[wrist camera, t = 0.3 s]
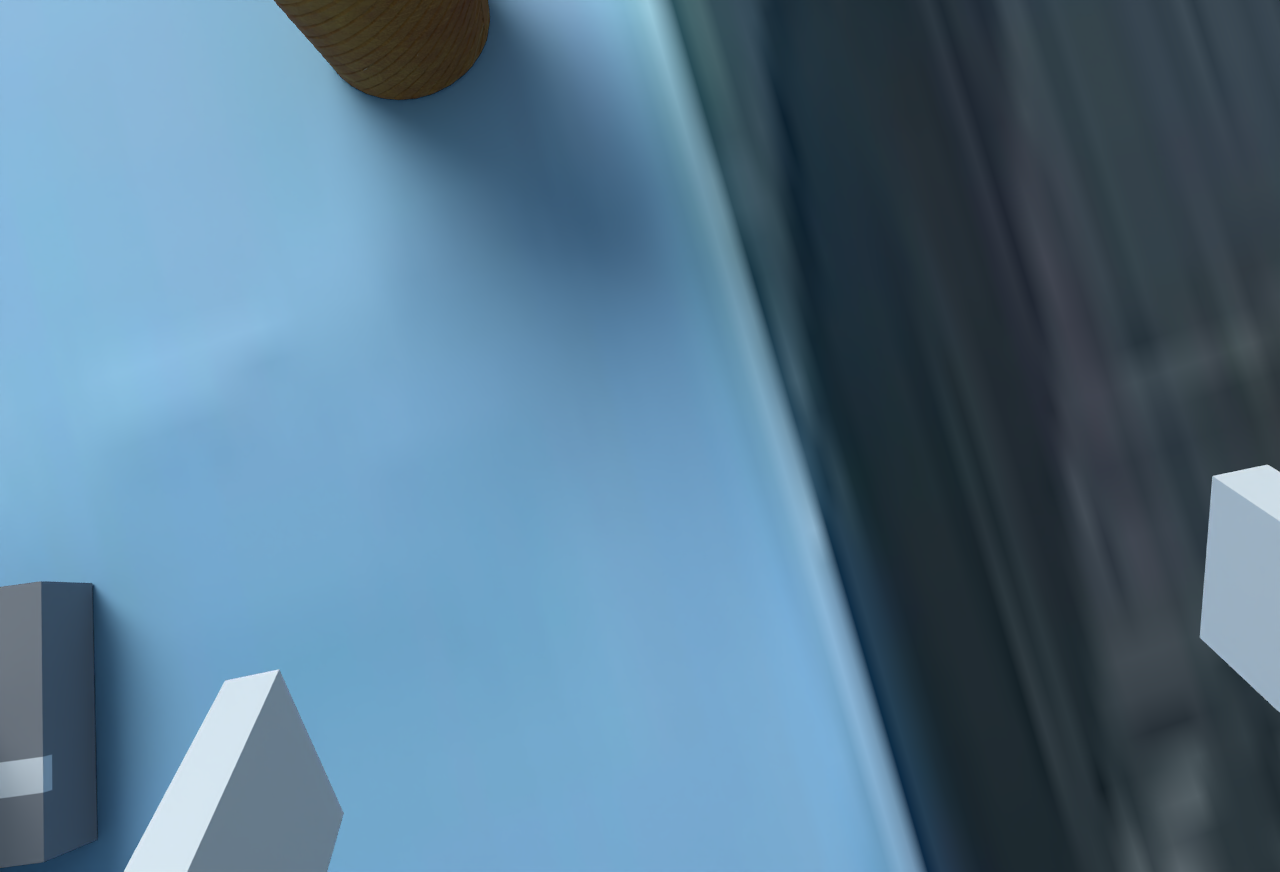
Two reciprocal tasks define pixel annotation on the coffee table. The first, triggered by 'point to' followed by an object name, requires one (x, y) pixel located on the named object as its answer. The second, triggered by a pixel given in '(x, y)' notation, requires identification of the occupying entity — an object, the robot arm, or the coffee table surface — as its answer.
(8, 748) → the grey slotted plate
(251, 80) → the coffee table surface
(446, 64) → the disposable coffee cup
